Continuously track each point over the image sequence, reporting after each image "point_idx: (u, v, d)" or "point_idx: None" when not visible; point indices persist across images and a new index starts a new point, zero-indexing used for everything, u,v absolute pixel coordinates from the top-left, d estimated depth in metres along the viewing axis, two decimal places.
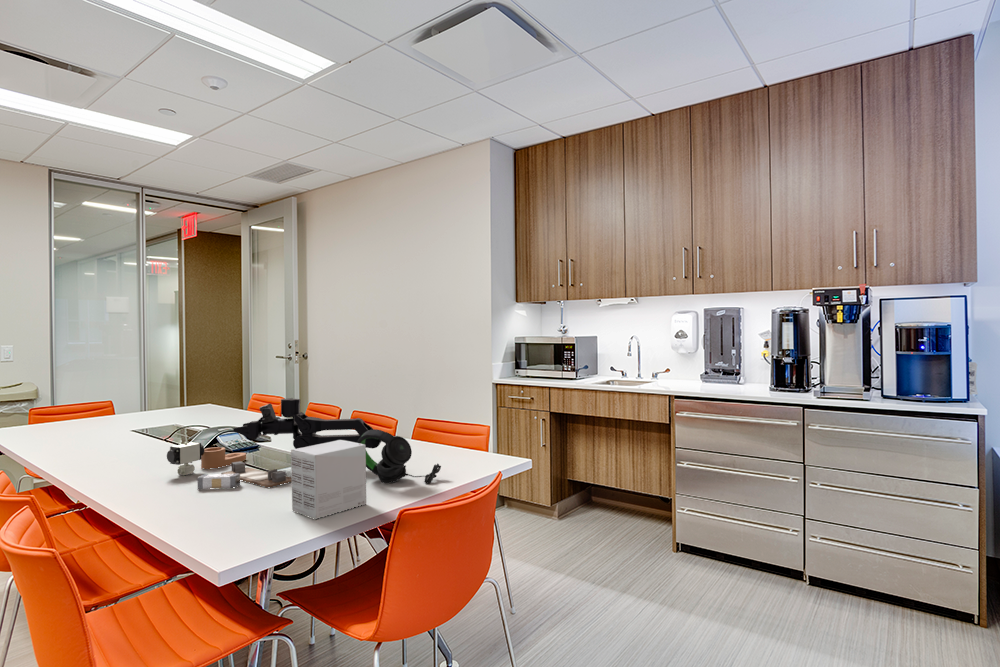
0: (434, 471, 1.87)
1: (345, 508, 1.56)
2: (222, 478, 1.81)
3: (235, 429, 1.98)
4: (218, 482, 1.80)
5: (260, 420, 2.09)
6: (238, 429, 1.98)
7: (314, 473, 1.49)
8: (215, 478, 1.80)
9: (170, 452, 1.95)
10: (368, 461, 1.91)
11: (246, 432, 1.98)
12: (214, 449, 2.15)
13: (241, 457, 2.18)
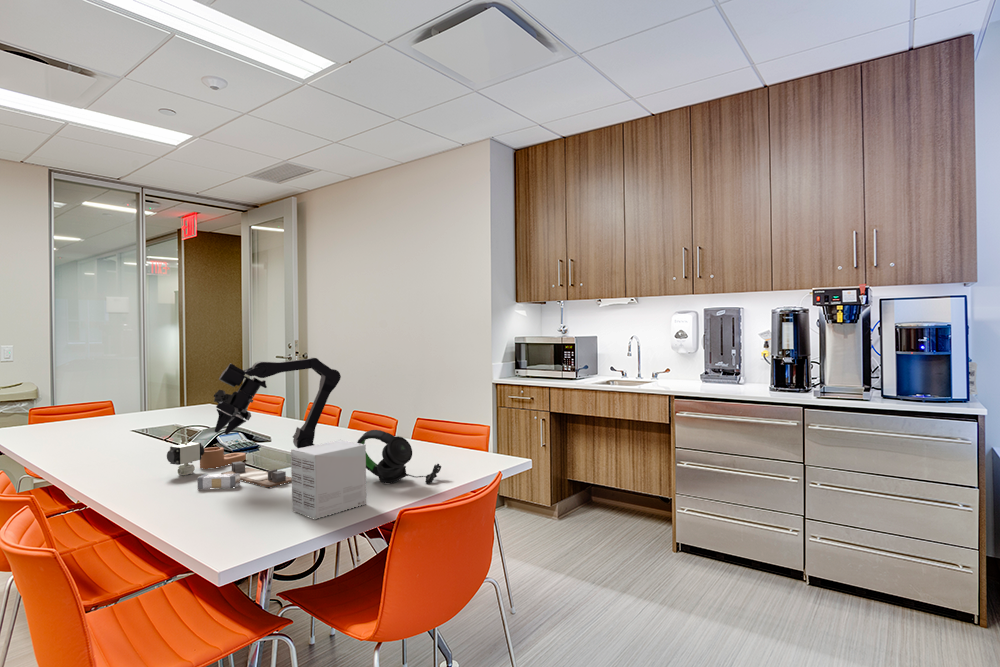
0: (435, 471, 1.87)
1: (345, 508, 1.56)
2: (222, 478, 1.81)
3: (216, 429, 1.85)
4: (218, 482, 1.80)
5: (232, 416, 1.96)
6: (218, 426, 1.85)
7: (314, 473, 1.49)
8: (215, 478, 1.80)
9: (170, 452, 1.95)
10: (368, 461, 1.90)
11: (225, 419, 1.85)
12: (213, 449, 2.15)
13: (240, 457, 2.18)
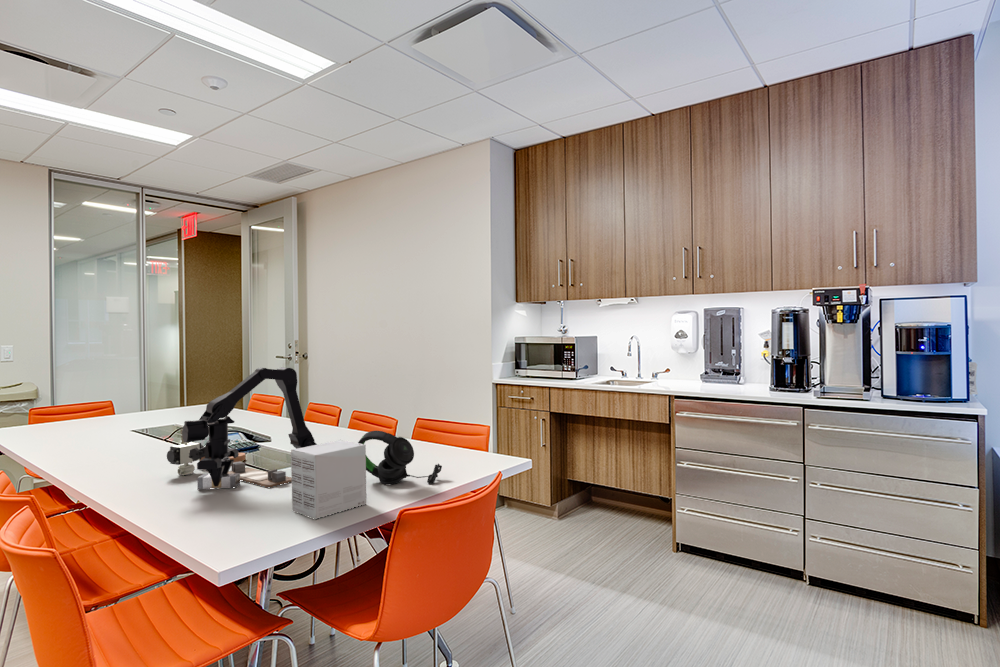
0: (436, 471, 1.87)
1: (345, 508, 1.56)
2: (222, 478, 1.81)
3: (215, 484, 1.80)
4: None
5: None
6: (214, 480, 1.79)
7: (314, 473, 1.49)
8: None
9: (170, 452, 1.95)
10: (367, 463, 1.88)
11: (217, 471, 1.79)
12: None
13: (240, 457, 2.18)
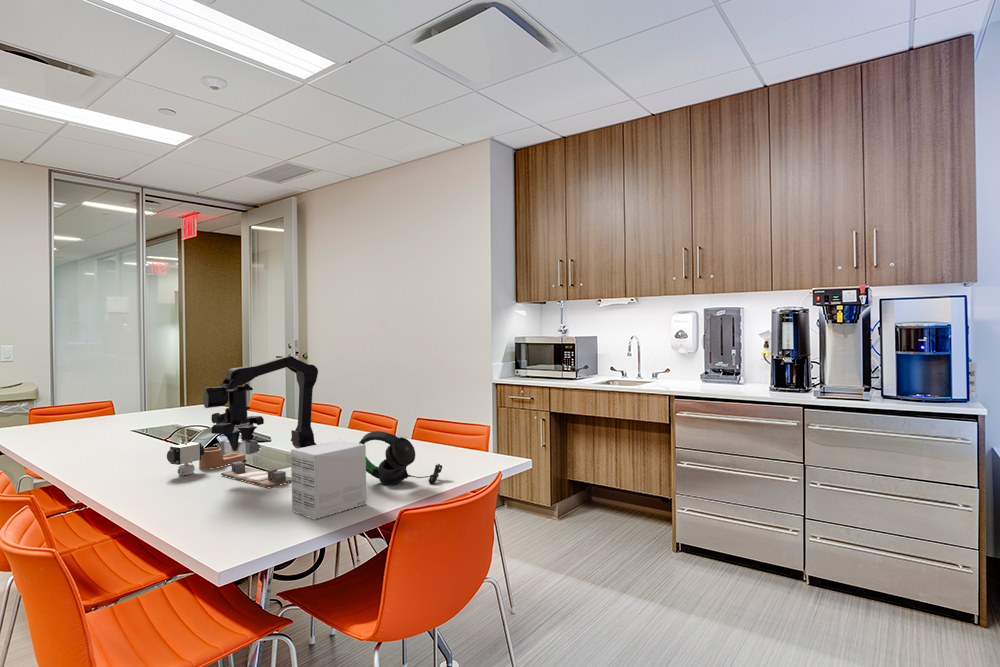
0: (437, 471, 1.87)
1: (345, 508, 1.56)
2: (239, 443, 1.85)
3: (233, 448, 1.85)
4: None
5: (240, 429, 1.91)
6: (232, 445, 1.85)
7: (314, 473, 1.49)
8: None
9: (170, 452, 1.95)
10: (367, 464, 1.86)
11: (233, 437, 1.84)
12: (213, 449, 2.15)
13: (239, 457, 2.18)
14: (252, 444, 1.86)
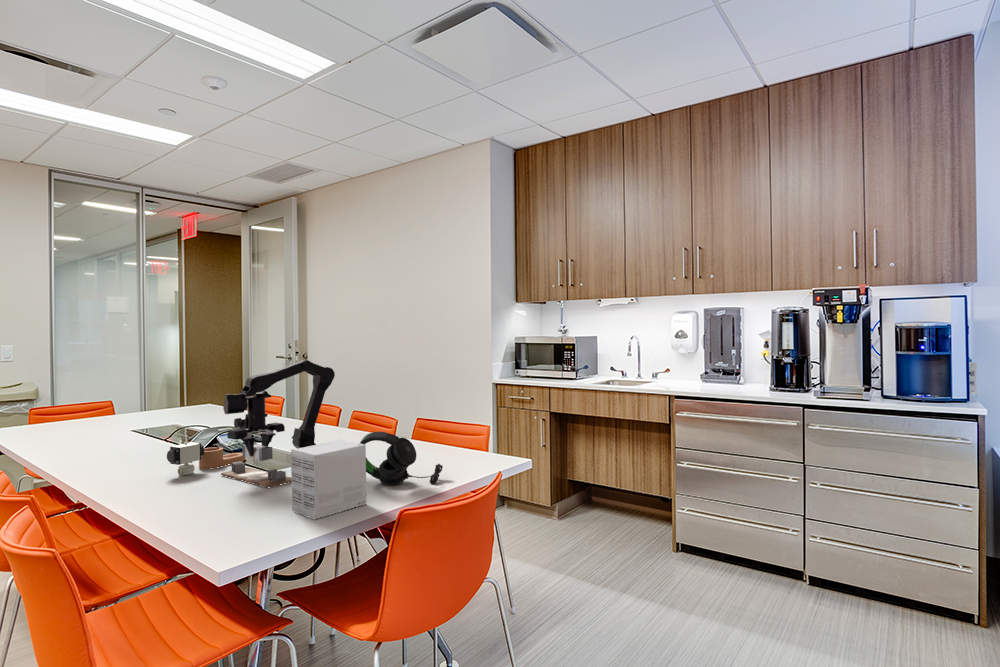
0: (437, 471, 1.87)
1: (345, 508, 1.56)
2: (255, 449, 1.90)
3: (250, 454, 1.91)
4: None
5: (261, 435, 1.96)
6: (248, 450, 1.91)
7: (314, 473, 1.49)
8: None
9: (170, 452, 1.95)
10: (367, 464, 1.85)
11: (248, 442, 1.90)
12: (212, 449, 2.14)
13: (239, 457, 2.18)
14: (265, 451, 1.89)
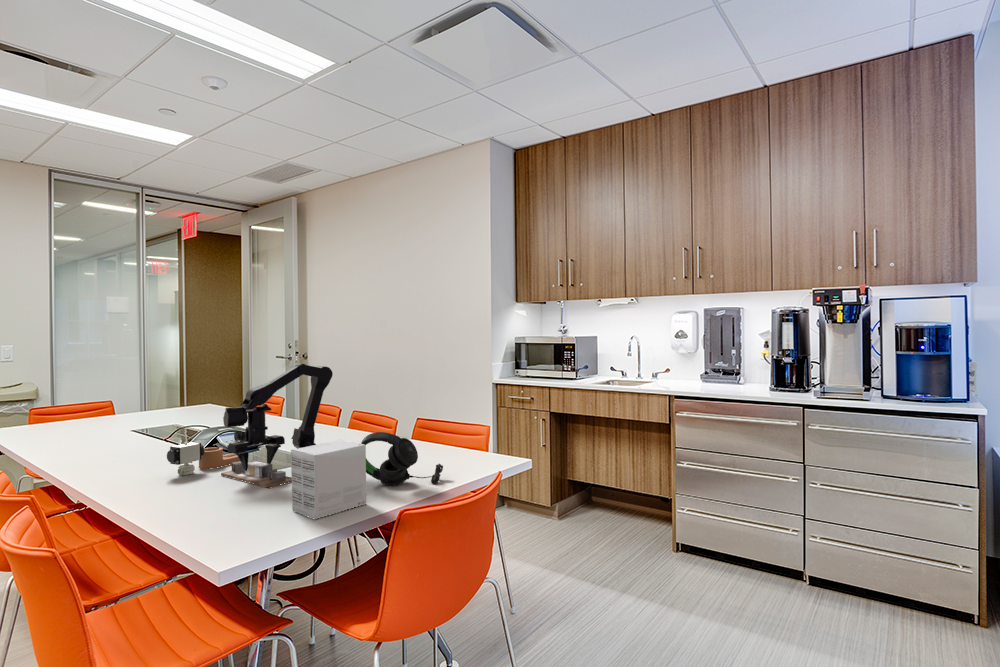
0: (438, 471, 1.87)
1: (345, 508, 1.56)
2: (255, 467, 1.90)
3: (244, 468, 1.89)
4: (252, 470, 1.91)
5: (266, 447, 1.98)
6: (243, 465, 1.89)
7: (314, 473, 1.49)
8: (251, 466, 1.92)
9: (170, 452, 1.95)
10: (368, 465, 1.84)
11: (243, 457, 1.88)
12: (212, 449, 2.14)
13: None
14: (265, 469, 1.89)
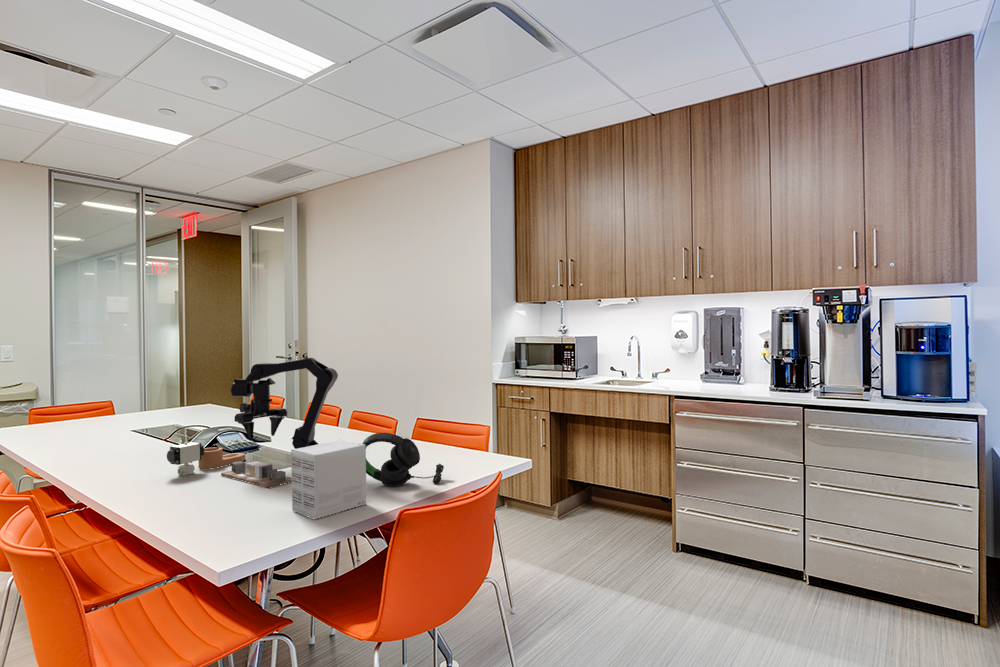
0: (439, 471, 1.87)
1: (345, 508, 1.56)
2: (255, 467, 1.90)
3: (249, 437, 2.01)
4: (252, 470, 1.91)
5: (270, 419, 2.11)
6: (248, 434, 2.01)
7: (314, 473, 1.49)
8: (251, 466, 1.92)
9: (170, 452, 1.95)
10: (368, 466, 1.83)
11: (248, 427, 2.00)
12: (212, 449, 2.14)
13: (239, 457, 2.18)
14: (265, 469, 1.89)
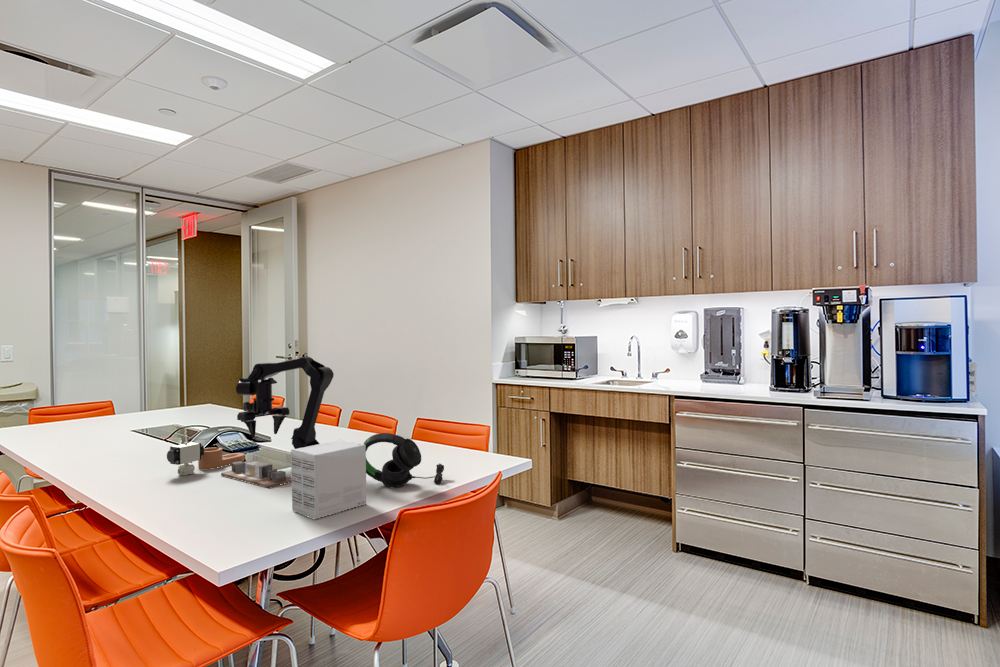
0: (440, 471, 1.87)
1: (345, 508, 1.56)
2: (255, 467, 1.90)
3: (252, 435, 2.06)
4: (252, 470, 1.91)
5: (273, 417, 2.15)
6: (251, 432, 2.05)
7: (314, 473, 1.49)
8: (251, 466, 1.92)
9: (170, 452, 1.95)
10: (369, 467, 1.82)
11: (251, 425, 2.04)
12: (212, 449, 2.14)
13: (239, 458, 2.18)
14: (265, 469, 1.89)
